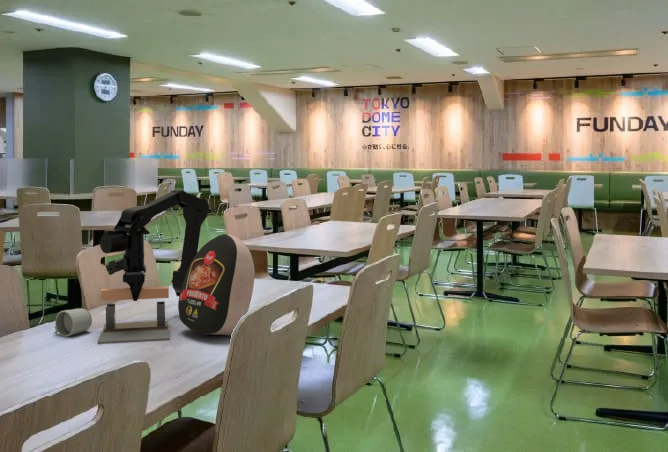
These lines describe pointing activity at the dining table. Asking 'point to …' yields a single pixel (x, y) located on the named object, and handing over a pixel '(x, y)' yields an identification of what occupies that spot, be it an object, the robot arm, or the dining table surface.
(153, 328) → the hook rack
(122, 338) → the mat
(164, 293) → the rail
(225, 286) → the packaged food
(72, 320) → the ceramic mug
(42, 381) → the dining table surface
